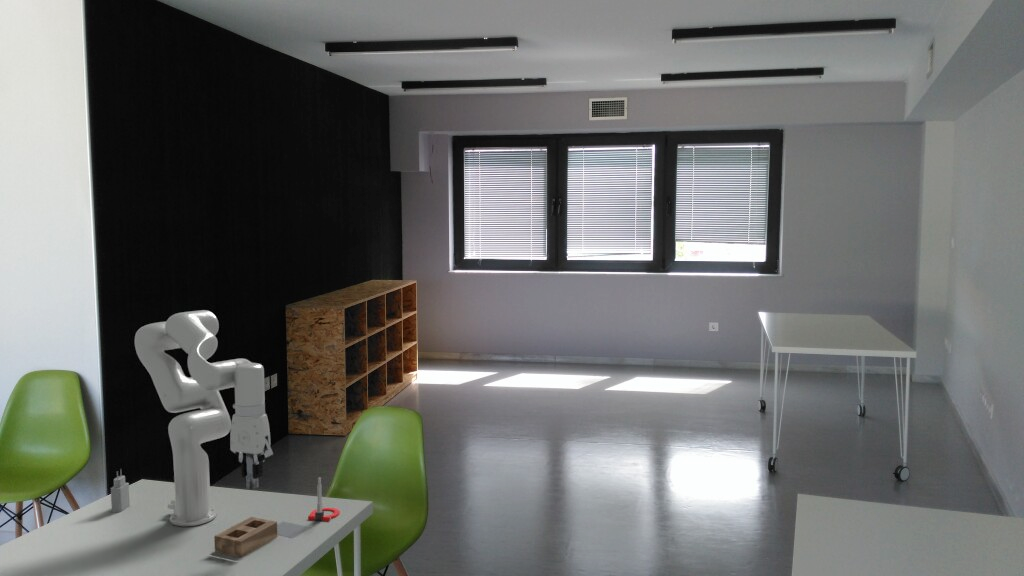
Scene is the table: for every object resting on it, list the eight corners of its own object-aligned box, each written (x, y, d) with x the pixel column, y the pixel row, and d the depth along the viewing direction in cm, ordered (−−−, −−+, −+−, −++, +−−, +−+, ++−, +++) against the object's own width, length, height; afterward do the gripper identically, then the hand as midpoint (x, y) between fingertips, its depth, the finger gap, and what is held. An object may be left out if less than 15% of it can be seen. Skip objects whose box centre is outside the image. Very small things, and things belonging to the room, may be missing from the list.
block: (214, 552, 207) (214, 535, 206) (251, 532, 220) (251, 516, 219) (241, 558, 203) (241, 541, 203) (277, 537, 216) (276, 521, 216)
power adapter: (110, 511, 234) (108, 473, 233) (121, 505, 240) (119, 467, 238) (120, 512, 234) (118, 473, 233) (130, 505, 239) (128, 467, 238)
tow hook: (317, 510, 237) (304, 521, 228) (317, 468, 236) (304, 477, 227) (343, 512, 236) (332, 523, 227) (344, 470, 235) (332, 479, 226)
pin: (242, 488, 210) (240, 449, 209) (251, 483, 213) (250, 445, 212) (253, 490, 208) (252, 451, 207) (262, 485, 212) (261, 447, 211)
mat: (264, 532, 219) (264, 531, 219) (282, 522, 227) (282, 521, 227) (292, 538, 215) (292, 537, 215) (311, 528, 223) (311, 527, 223)
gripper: (215, 410, 208) (217, 477, 210) (266, 416, 202) (268, 484, 204) (234, 403, 215) (236, 468, 217) (284, 409, 209) (286, 475, 211)
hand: (252, 475), depth 210 cm, fingers closed on pin, 3 cm apart
